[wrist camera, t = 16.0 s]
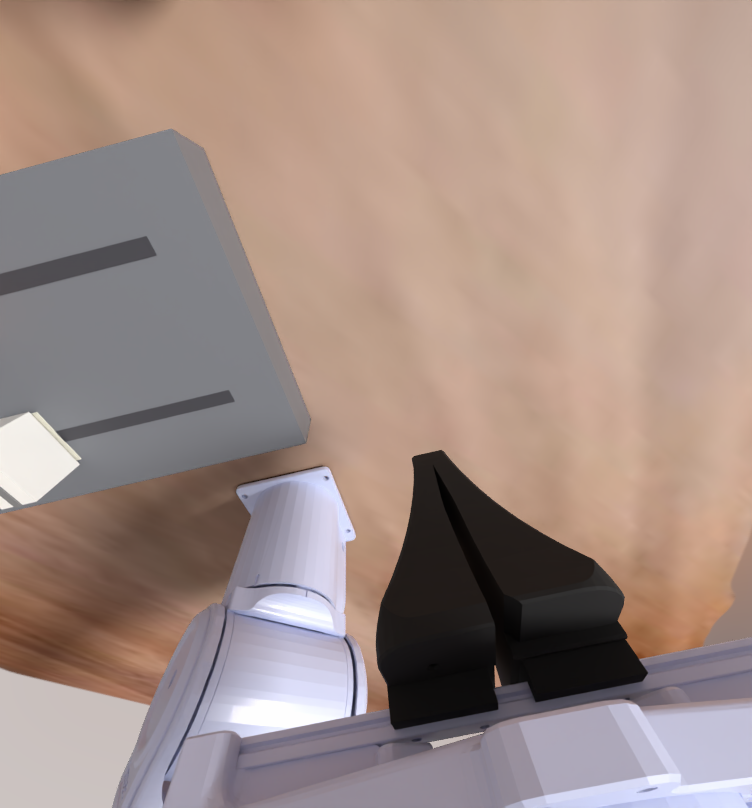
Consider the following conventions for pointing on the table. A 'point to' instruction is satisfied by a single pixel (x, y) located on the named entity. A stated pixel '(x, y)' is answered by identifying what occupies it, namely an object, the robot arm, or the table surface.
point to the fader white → (29, 461)
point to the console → (137, 318)
